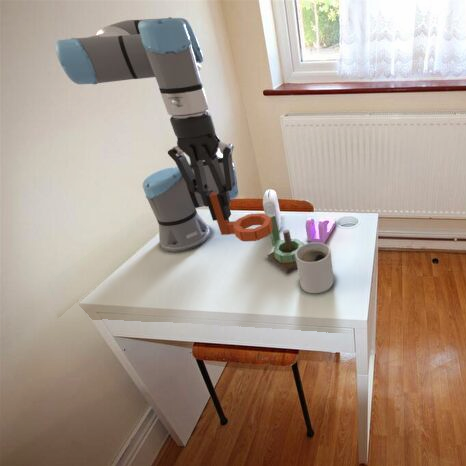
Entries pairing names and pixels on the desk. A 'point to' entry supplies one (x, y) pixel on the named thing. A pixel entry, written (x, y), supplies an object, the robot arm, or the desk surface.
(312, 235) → the bracket
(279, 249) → the sage ring
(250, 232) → the rust ring
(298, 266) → the mug
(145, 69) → the robot arm
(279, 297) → the desk surface
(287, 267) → the peg stand
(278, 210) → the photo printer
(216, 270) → the desk surface
